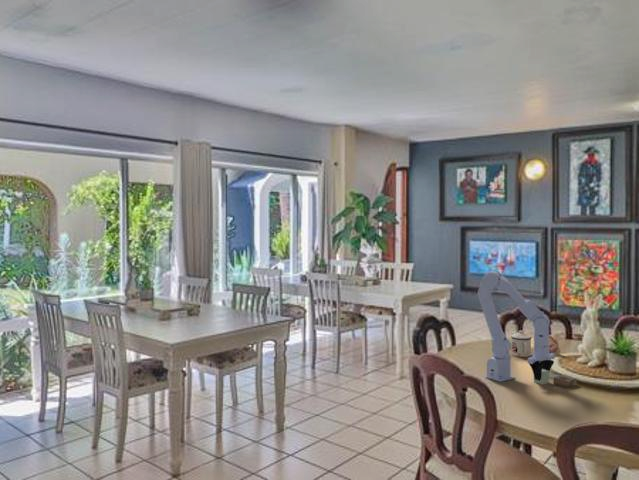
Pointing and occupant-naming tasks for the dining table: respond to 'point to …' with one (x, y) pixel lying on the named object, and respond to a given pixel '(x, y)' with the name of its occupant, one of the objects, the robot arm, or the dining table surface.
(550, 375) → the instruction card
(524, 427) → the dining table surface
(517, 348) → the teacup with lid
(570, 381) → the walnut slab
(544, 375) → the sage block
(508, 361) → the robot arm
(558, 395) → the dining table surface
